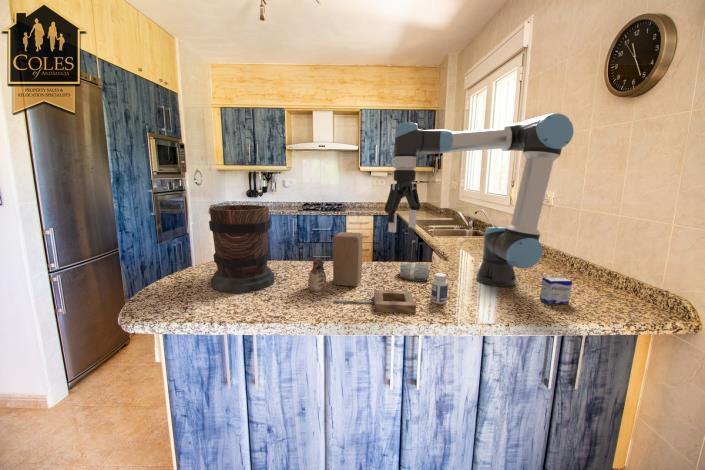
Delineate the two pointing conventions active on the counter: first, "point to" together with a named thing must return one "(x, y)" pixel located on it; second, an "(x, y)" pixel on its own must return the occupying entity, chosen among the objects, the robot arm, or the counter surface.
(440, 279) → the pill bottle
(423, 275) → the decorative stone
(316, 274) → the figurine
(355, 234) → the wooden block
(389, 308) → the brown square frame
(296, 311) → the counter surface
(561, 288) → the box
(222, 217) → the wooden barrel
